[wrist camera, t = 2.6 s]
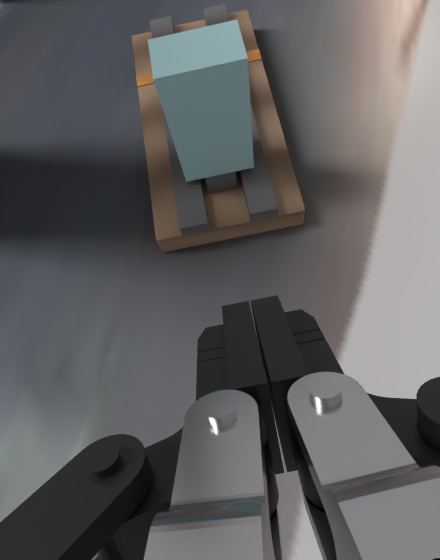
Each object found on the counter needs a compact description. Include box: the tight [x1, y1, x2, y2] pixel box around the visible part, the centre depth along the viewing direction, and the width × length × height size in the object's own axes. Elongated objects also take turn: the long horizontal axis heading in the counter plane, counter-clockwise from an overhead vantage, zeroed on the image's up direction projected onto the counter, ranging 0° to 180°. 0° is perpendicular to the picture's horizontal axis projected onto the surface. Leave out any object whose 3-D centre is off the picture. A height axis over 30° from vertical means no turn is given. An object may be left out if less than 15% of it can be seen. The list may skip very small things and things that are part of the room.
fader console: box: [132, 4, 305, 253], centre depth 34 cm, size 22×11×3 cm, turn 9°
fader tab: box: [148, 20, 254, 193], centre depth 26 cm, size 4×5×10 cm
